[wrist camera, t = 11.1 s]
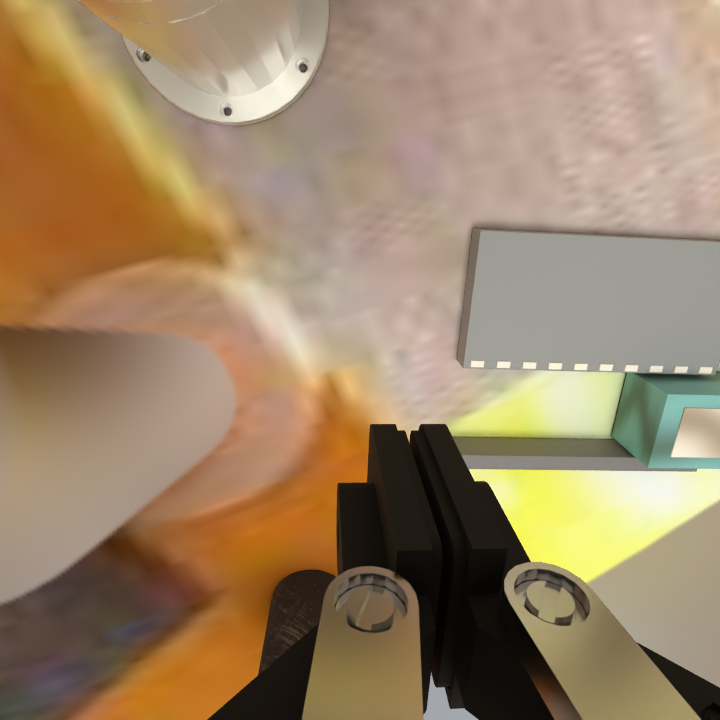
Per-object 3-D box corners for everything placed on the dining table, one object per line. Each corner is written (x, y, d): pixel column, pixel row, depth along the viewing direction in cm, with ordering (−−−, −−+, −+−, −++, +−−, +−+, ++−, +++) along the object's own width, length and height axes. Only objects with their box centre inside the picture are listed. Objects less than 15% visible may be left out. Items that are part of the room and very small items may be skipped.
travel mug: (259, 623, 46) (212, 921, 27) (281, 559, 44) (247, 836, 25) (337, 638, 48) (343, 934, 29) (362, 577, 45) (387, 854, 26)
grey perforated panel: (472, 228, 36) (485, 231, 33) (733, 240, 37) (767, 245, 34) (445, 449, 41) (454, 468, 39) (671, 452, 43) (696, 471, 40)
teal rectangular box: (627, 369, 40) (668, 394, 35) (744, 373, 41) (800, 397, 36) (611, 436, 42) (648, 468, 37) (722, 438, 43) (773, 470, 38)
